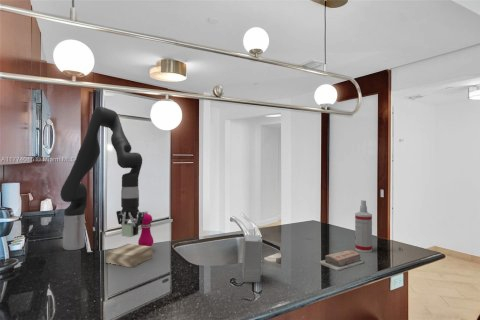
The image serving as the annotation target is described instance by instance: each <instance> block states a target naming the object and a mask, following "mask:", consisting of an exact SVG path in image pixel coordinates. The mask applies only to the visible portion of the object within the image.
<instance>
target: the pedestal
mask: <svg viewBox="0 0 480 320" xmlns="http://www.w3.org/2000/svg"><path fill="white" fill-rule="evenodd" d="M153 248H154V247H153V245H152V246H143V245H139V244H132V243H127V244H124V245H121V246H118V247H116V248H113V249H110V250H107V251H106V252H105V263H106V262H107V263H111V264H110V265H112V264H116V265H115V266H119V265H121V266H120V267H127V268H133V267H136V266H138V265H140V264H142V263H144V262H145V261H148V260H150V259H153V253H154V251H153Z"/></svg>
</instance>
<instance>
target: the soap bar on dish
mask: <svg viewBox="0 0 480 320" xmlns="http://www.w3.org/2000/svg"><path fill="white" fill-rule="evenodd" d="M364 263H365V260H361V254H360V253H359V251H355V250H352V249H347V250H343V251H337V252H334V253H330V254H326V255H325V256H324V259H323V260H319V264H320V265H321V266H325V267H326V268H329V269H333V270H334V271H342V270H343V269H348V268H352V267H356V266H358V265H361V264H364Z"/></svg>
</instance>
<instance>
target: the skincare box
mask: <svg viewBox="0 0 480 320" xmlns="http://www.w3.org/2000/svg"><path fill="white" fill-rule="evenodd" d="M242 253H243V254H242V270H241V274H242V275H241V276H242V280H243V282H244V283H261V275H262V256H263V255H262V253H263V241H262V237H261V235H259V234H244V236H243V252H242Z"/></svg>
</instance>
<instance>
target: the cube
mask: <svg viewBox="0 0 480 320" xmlns="http://www.w3.org/2000/svg"><path fill="white" fill-rule="evenodd" d="M133 227H134V226H133V223H132V222H128V223H127V224H123V225H121V237H126V238H132V237H135V236H138V235H139V233H138V234H137V235H133Z"/></svg>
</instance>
